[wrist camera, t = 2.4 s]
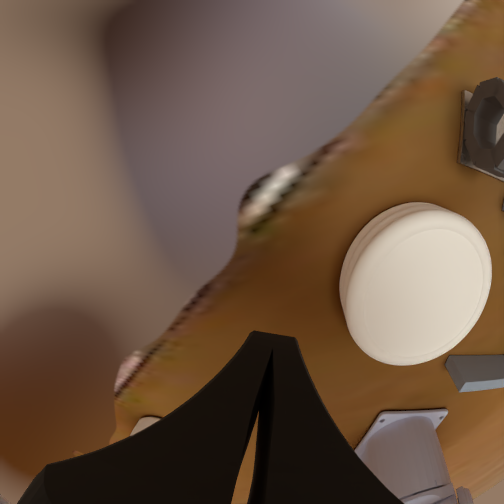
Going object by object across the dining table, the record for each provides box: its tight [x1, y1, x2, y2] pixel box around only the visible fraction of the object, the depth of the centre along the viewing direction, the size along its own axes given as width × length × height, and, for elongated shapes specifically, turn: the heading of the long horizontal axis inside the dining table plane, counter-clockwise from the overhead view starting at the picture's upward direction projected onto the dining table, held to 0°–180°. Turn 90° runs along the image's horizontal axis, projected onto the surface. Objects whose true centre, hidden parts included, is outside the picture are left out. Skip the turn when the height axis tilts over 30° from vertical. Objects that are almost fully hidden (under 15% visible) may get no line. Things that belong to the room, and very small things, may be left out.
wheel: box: [464, 77, 504, 178], centre depth 10 cm, size 5×2×5 cm, turn 173°
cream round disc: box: [339, 202, 492, 366], centre depth 15 cm, size 10×10×4 cm
